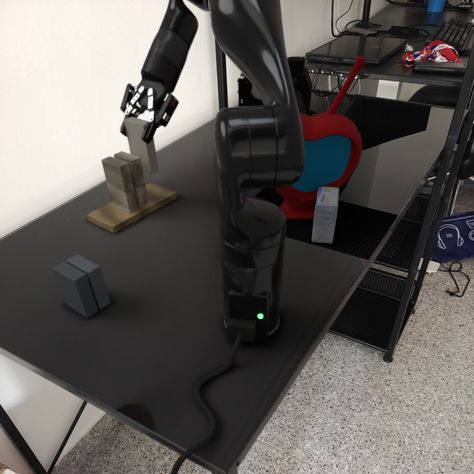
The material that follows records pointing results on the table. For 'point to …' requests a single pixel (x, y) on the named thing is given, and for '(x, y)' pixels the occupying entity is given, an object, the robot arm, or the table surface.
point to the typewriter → (300, 83)
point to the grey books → (82, 285)
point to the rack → (128, 193)
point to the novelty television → (324, 155)
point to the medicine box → (325, 215)
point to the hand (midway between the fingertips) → (134, 138)
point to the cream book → (141, 144)
